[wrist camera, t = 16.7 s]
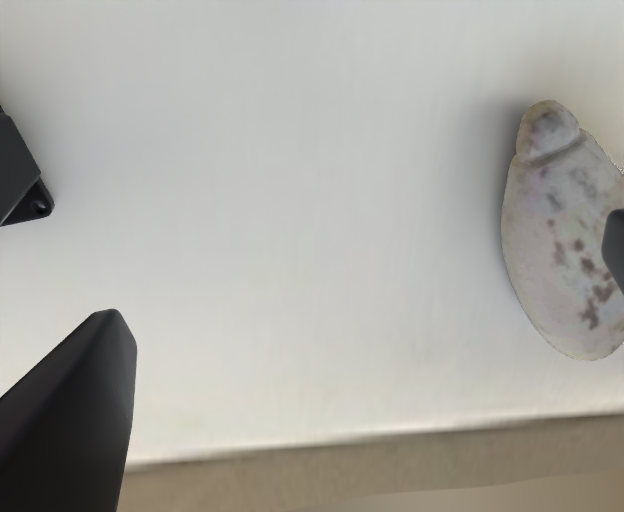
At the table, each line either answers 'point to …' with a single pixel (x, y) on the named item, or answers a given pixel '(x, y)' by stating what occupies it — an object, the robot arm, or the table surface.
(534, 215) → the decorative stone
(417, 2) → the table surface
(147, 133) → the table surface
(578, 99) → the table surface
